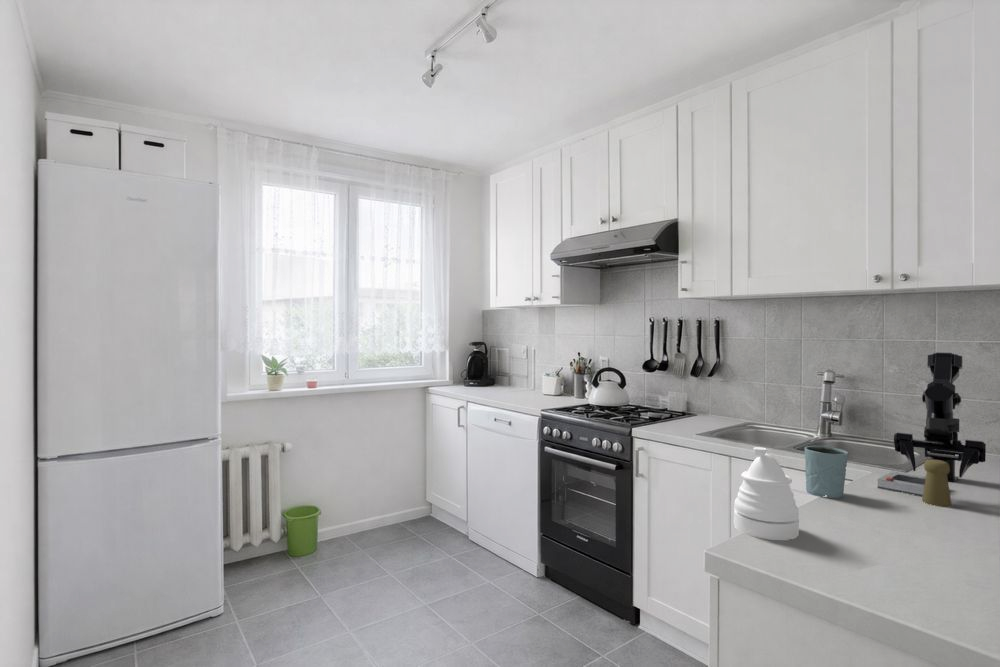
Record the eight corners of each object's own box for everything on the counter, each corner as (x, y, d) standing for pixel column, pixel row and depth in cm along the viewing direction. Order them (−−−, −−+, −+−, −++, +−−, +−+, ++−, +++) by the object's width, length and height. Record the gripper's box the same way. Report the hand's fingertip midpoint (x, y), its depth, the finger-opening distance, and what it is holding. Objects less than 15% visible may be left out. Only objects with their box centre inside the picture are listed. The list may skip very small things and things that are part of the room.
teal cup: (804, 486, 153) (804, 444, 153) (846, 492, 148) (847, 448, 148) (803, 495, 144) (804, 450, 144) (848, 501, 139) (849, 455, 139)
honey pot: (769, 544, 110) (770, 456, 110) (721, 523, 122) (721, 444, 122) (812, 535, 116) (813, 451, 116) (762, 516, 127) (762, 440, 127)
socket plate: (892, 479, 161) (892, 469, 161) (943, 488, 152) (943, 477, 152) (877, 487, 152) (877, 476, 152) (930, 498, 143) (930, 486, 143)
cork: (957, 507, 135) (957, 463, 135) (929, 505, 136) (930, 462, 136) (942, 500, 141) (943, 458, 141) (916, 498, 142) (917, 457, 142)
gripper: (894, 403, 149) (889, 448, 140) (985, 409, 136) (986, 460, 128) (897, 428, 155) (892, 473, 146) (985, 436, 142) (985, 487, 134)
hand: (936, 473), depth 138 cm, fingers open, 9 cm apart
